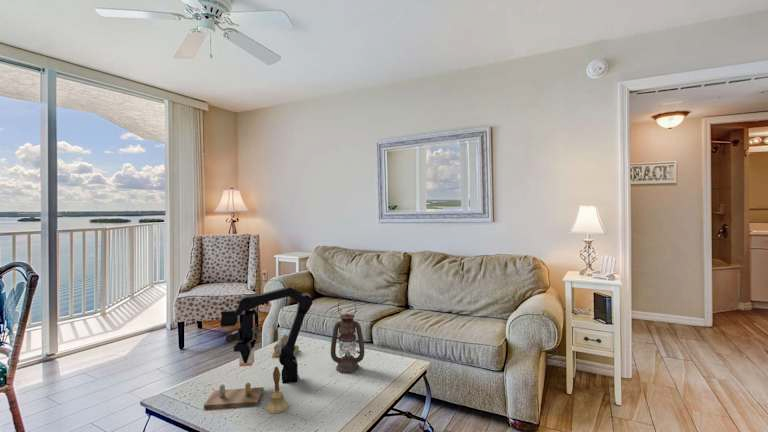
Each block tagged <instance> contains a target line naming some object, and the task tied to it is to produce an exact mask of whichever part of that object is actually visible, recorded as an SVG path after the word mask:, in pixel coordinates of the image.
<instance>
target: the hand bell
mask: <svg viewBox="0 0 768 432" xmlns="http://www.w3.org/2000/svg"><path fill="white" fill-rule="evenodd" d="M272 379H273V383H274V392H273V393H272V394H271V395H270V401H269V403H268V405H267V406H266V408H265V410H266V412H267V413H268V414H272V415H274V414H275V415H276V414H281V413H283V412H286V411H287V410H288V408H289V404H288V403H287V402H286V400H285V398H284V393H283V392H282V391H280V379H281V371H280V370H279V366H274V369H273V373H272Z"/></svg>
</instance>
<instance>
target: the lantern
mask: <svg viewBox="0 0 768 432" xmlns="http://www.w3.org/2000/svg"><path fill="white" fill-rule="evenodd" d="M342 298H353V300H354V303H355V304H354V305H355V307H357V302H356V299H355V297H354V296H350V295H349V296H348V295H347V296H346V295H345V296H341V297H340V298H339V299H338V300H339V301H338V306H337V311H338V314H339V315H340V316H339V319H341V320H339V321H336V323H335V324H334V326H333V329H332V330H333V331H332V335H331V342H330V357H331V360H332V361H334V362H335V363H337V364H336V368H335V370H336V372H338V371H339V372H338V373H340V372H341V373H340V374H346V373H347V374H352V372H354V373H356V372H358V371H359V370H358V369H360V365H359V363H360V362H361V361H363V359H364V356H365V344H364V343H365V342H364V336H363V330H362V326H361V324H360V323H359V322H358V321H356V320H354V319H355V317H356V316H355V314H356V312H357V308H355V310H354V313H353V314H349V313H345V314H343V313H342V314H341V313H340V309H339V307H340V302H341V301H340V300H341V299H342ZM338 333H339V334H340V335H339V336H338ZM354 333H356V334H357V336H356V334H354ZM356 337H357V338H356ZM357 339H358V341H357ZM337 341H338V343H339V345H338V347H339V351H338V354H339V355H340V357H339V356H337V354H336V349H337V348H336V347H337ZM340 342H341V343H340ZM357 342H358V347H359V348H358V349H359V350H357V351H356V347H357V344H356V343H357ZM356 354H359V355H358V356H357V357H355V356H356ZM342 355H343V356H342ZM357 370H358V371H357ZM355 371H356V372H355Z"/></svg>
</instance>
